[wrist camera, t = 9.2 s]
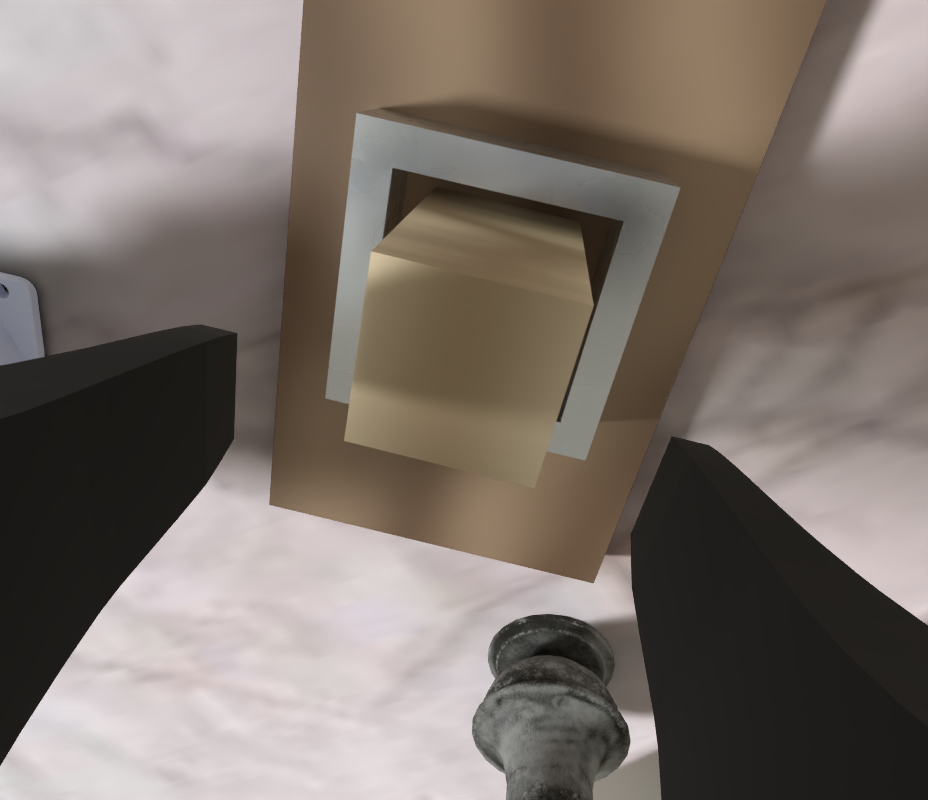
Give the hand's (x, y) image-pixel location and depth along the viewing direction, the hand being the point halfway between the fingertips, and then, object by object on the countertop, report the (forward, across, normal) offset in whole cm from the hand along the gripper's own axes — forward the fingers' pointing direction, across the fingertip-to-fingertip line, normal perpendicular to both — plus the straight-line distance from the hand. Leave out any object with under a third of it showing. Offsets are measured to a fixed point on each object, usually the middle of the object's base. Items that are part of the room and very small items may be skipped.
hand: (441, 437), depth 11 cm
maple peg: (+9, 0, 0) cm, 9 cm away
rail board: (+10, 0, 0) cm, 10 cm away
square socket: (+9, 0, 0) cm, 9 cm away
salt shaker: (+11, -6, +16) cm, 20 cm away
